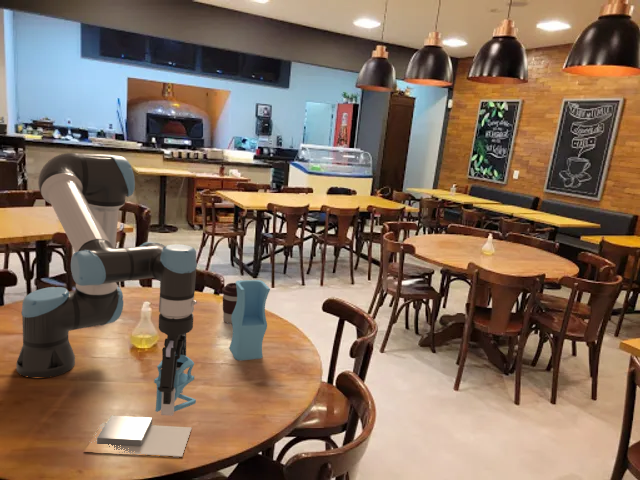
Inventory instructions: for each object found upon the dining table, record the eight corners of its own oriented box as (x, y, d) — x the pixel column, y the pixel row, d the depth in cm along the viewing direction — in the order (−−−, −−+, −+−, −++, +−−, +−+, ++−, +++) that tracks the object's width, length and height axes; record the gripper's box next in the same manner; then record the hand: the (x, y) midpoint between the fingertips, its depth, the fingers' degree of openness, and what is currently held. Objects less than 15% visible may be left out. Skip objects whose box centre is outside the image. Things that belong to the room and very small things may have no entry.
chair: (146, 408, 109) (150, 360, 107) (170, 393, 117) (174, 348, 114) (174, 419, 106) (178, 369, 104) (196, 402, 114) (200, 356, 112)
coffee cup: (249, 321, 192) (252, 285, 189) (233, 327, 184) (235, 291, 180) (231, 314, 197) (234, 279, 194) (214, 320, 189) (217, 284, 185)
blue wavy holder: (235, 360, 157) (241, 289, 152) (229, 348, 166) (234, 280, 161) (264, 358, 161) (270, 288, 156) (256, 345, 170) (261, 279, 165)
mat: (83, 452, 107) (83, 451, 107) (102, 423, 117) (102, 422, 117) (182, 457, 109) (182, 456, 109) (191, 428, 119) (191, 427, 119)
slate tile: (111, 421, 118) (97, 444, 109) (111, 415, 118) (97, 437, 109) (152, 423, 119) (141, 446, 110) (152, 417, 119) (141, 440, 110)
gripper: (183, 333, 97) (178, 431, 101) (201, 298, 118) (197, 381, 122) (145, 330, 96) (142, 429, 101) (171, 296, 117) (167, 379, 122)
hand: (172, 402), depth 111 cm, fingers closed on chair, 9 cm apart
